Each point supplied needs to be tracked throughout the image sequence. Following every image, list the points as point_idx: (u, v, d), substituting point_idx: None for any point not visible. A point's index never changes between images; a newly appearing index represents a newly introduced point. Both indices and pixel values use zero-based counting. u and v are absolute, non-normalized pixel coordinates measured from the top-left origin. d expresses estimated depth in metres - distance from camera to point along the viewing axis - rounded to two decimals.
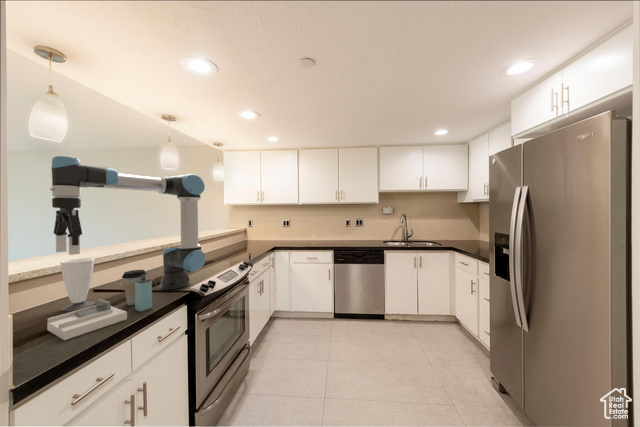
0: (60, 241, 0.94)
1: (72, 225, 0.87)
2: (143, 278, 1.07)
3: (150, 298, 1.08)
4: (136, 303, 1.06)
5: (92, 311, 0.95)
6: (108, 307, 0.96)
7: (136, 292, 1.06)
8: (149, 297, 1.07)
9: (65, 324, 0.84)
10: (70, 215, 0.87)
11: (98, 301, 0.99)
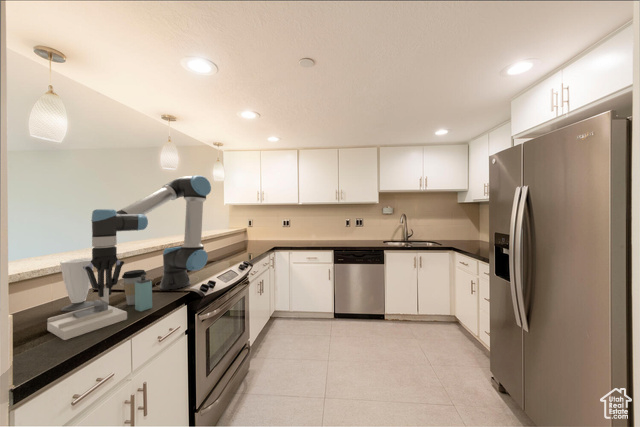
0: None
1: (90, 280, 0.95)
2: (143, 278, 1.07)
3: (150, 298, 1.08)
4: (136, 303, 1.06)
5: (89, 312, 0.94)
6: (105, 308, 0.95)
7: (136, 292, 1.06)
8: (149, 297, 1.07)
9: (65, 324, 0.84)
10: (86, 271, 0.94)
11: (95, 302, 0.98)
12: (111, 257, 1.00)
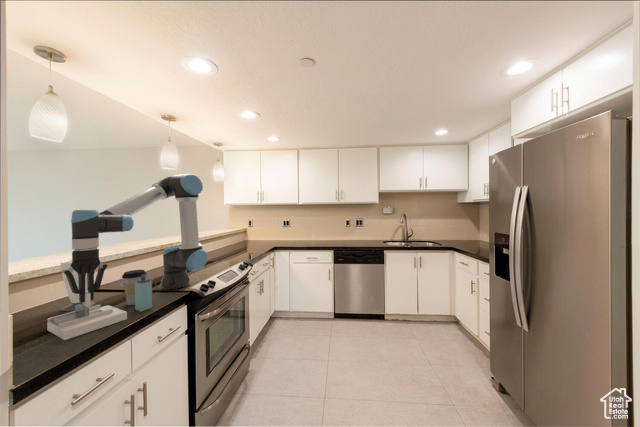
0: None
1: (70, 285, 0.90)
2: (143, 278, 1.07)
3: (150, 298, 1.08)
4: (136, 303, 1.06)
5: (69, 317, 0.89)
6: (86, 313, 0.90)
7: (136, 292, 1.06)
8: (149, 297, 1.07)
9: (65, 324, 0.84)
10: (66, 275, 0.89)
11: (77, 307, 0.93)
12: (93, 260, 0.95)
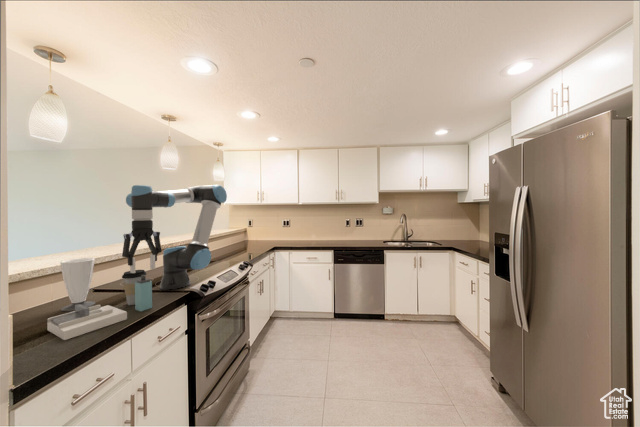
0: (151, 259, 1.11)
1: (123, 248, 1.02)
2: (143, 278, 1.07)
3: (150, 298, 1.08)
4: (136, 303, 1.06)
5: (69, 317, 0.89)
6: (86, 313, 0.90)
7: (136, 292, 1.06)
8: (149, 297, 1.07)
9: (65, 324, 0.84)
10: (124, 239, 1.02)
11: (77, 307, 0.93)
12: (147, 231, 1.08)
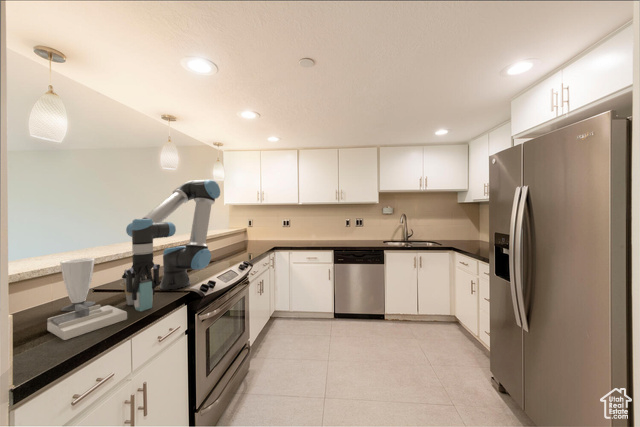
0: None
1: (126, 284, 1.03)
2: (143, 278, 1.07)
3: (150, 298, 1.08)
4: None
5: (69, 317, 0.89)
6: (86, 313, 0.90)
7: None
8: (149, 297, 1.07)
9: (65, 324, 0.84)
10: (126, 274, 1.03)
11: (77, 307, 0.93)
12: (148, 263, 1.09)
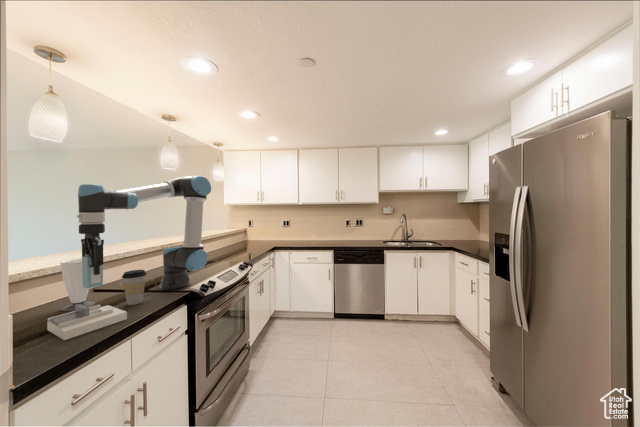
0: None
1: (96, 256, 0.92)
2: None
3: None
4: None
5: (69, 317, 0.89)
6: (86, 313, 0.90)
7: None
8: None
9: (65, 324, 0.84)
10: (96, 245, 0.92)
11: (77, 307, 0.93)
12: None
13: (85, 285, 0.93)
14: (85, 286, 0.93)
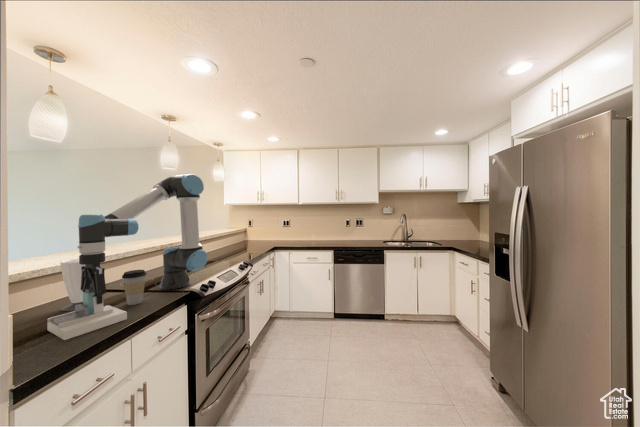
0: None
1: (98, 285, 0.91)
2: None
3: None
4: None
5: (69, 317, 0.89)
6: (86, 313, 0.90)
7: (92, 303, 0.93)
8: None
9: (65, 324, 0.84)
10: (97, 275, 0.91)
11: (77, 307, 0.93)
12: None
13: None
14: None
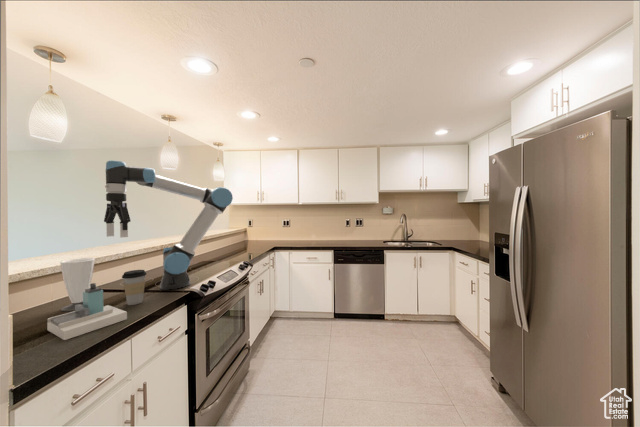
0: (109, 228, 1.19)
1: (123, 214, 1.12)
2: (95, 286, 0.96)
3: None
4: None
5: (69, 317, 0.89)
6: (86, 313, 0.90)
7: (92, 303, 0.93)
8: None
9: (65, 324, 0.84)
10: (121, 206, 1.12)
11: (77, 307, 0.93)
12: None
13: None
14: None
